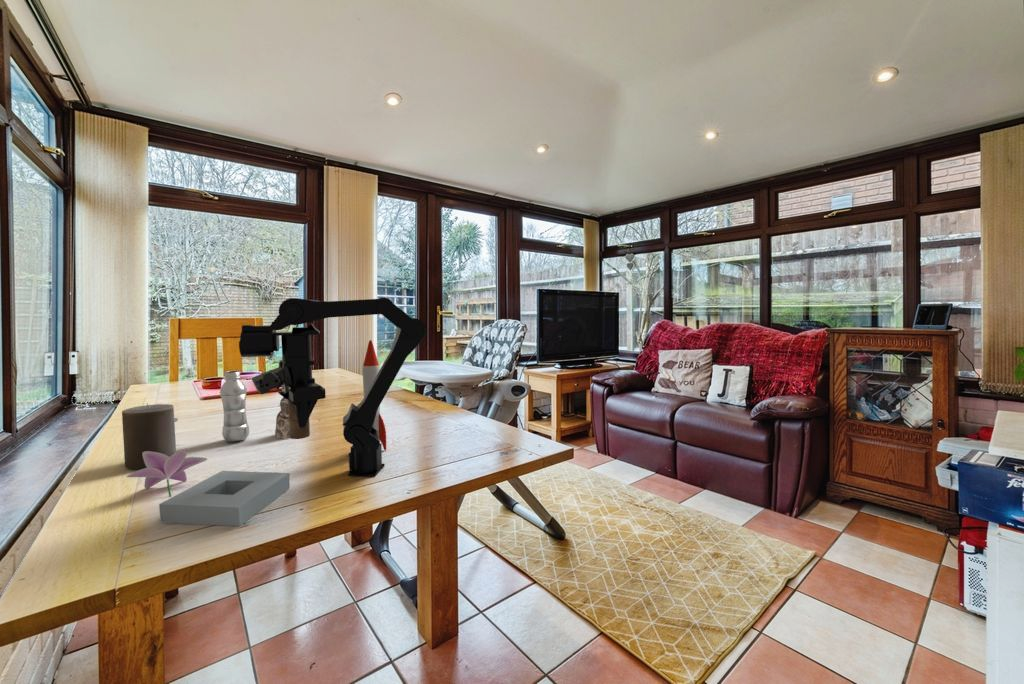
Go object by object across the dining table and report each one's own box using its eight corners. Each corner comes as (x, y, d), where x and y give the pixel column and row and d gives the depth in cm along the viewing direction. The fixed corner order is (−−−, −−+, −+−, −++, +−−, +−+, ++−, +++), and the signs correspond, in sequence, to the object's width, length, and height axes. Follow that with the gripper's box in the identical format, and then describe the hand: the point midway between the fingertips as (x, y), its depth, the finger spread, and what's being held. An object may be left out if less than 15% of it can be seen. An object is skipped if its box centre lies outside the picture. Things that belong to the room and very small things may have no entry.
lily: (217, 484, 94) (208, 443, 96) (187, 485, 82) (177, 439, 85) (157, 507, 90) (149, 465, 93) (118, 511, 79) (109, 463, 81)
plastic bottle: (228, 446, 115) (223, 374, 113) (219, 441, 119) (214, 371, 117) (253, 440, 120) (250, 371, 118) (244, 435, 124) (240, 369, 122)
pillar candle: (147, 471, 97) (143, 408, 96) (114, 467, 99) (109, 406, 98) (186, 457, 107) (183, 399, 106) (156, 454, 109) (152, 397, 108)
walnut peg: (313, 433, 95) (312, 394, 94) (303, 439, 91) (301, 398, 90) (296, 433, 95) (295, 394, 94) (285, 438, 91) (284, 398, 90)
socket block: (289, 488, 89) (289, 473, 89) (239, 526, 74) (238, 507, 74) (223, 486, 90) (222, 470, 90) (160, 522, 75) (159, 504, 75)
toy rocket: (379, 445, 117) (377, 338, 114) (387, 450, 112) (384, 340, 110) (359, 449, 113) (356, 339, 111) (366, 455, 109) (363, 341, 106)
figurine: (272, 439, 120) (270, 399, 119) (279, 432, 127) (277, 393, 126) (299, 437, 122) (297, 397, 121) (304, 430, 129) (303, 392, 128)
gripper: (246, 353, 93) (249, 422, 94) (263, 363, 79) (267, 443, 80) (300, 350, 100) (302, 414, 102) (325, 359, 86) (327, 432, 88)
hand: (299, 425), depth 93 cm, fingers closed on walnut peg, 4 cm apart
